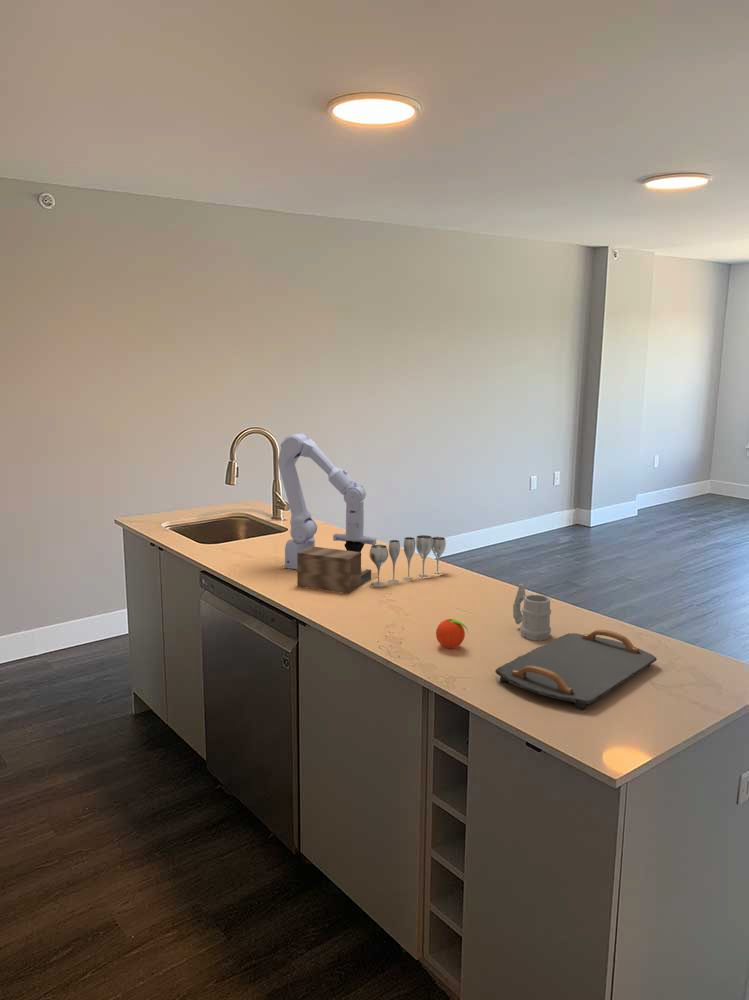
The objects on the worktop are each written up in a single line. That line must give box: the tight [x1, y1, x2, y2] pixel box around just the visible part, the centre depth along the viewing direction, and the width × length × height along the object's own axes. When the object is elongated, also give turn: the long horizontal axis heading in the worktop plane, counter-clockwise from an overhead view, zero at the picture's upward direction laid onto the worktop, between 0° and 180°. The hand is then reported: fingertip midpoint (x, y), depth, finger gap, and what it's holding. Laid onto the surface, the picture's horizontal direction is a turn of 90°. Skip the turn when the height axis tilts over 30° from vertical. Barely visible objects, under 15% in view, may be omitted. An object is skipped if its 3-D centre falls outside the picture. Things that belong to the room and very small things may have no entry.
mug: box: [512, 583, 552, 642], centre depth 195 cm, size 8×12×12 cm, turn 33°
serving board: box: [495, 629, 658, 711], centre depth 171 cm, size 39×23×6 cm, turn 137°
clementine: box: [435, 618, 469, 649], centre depth 185 cm, size 8×7×7 cm
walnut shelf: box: [296, 546, 372, 595], centre depth 236 cm, size 17×17×10 cm
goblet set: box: [368, 534, 447, 587], centre depth 241 cm, size 28×6×13 cm, turn 123°
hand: (354, 564), depth 249 cm, fingers closed
